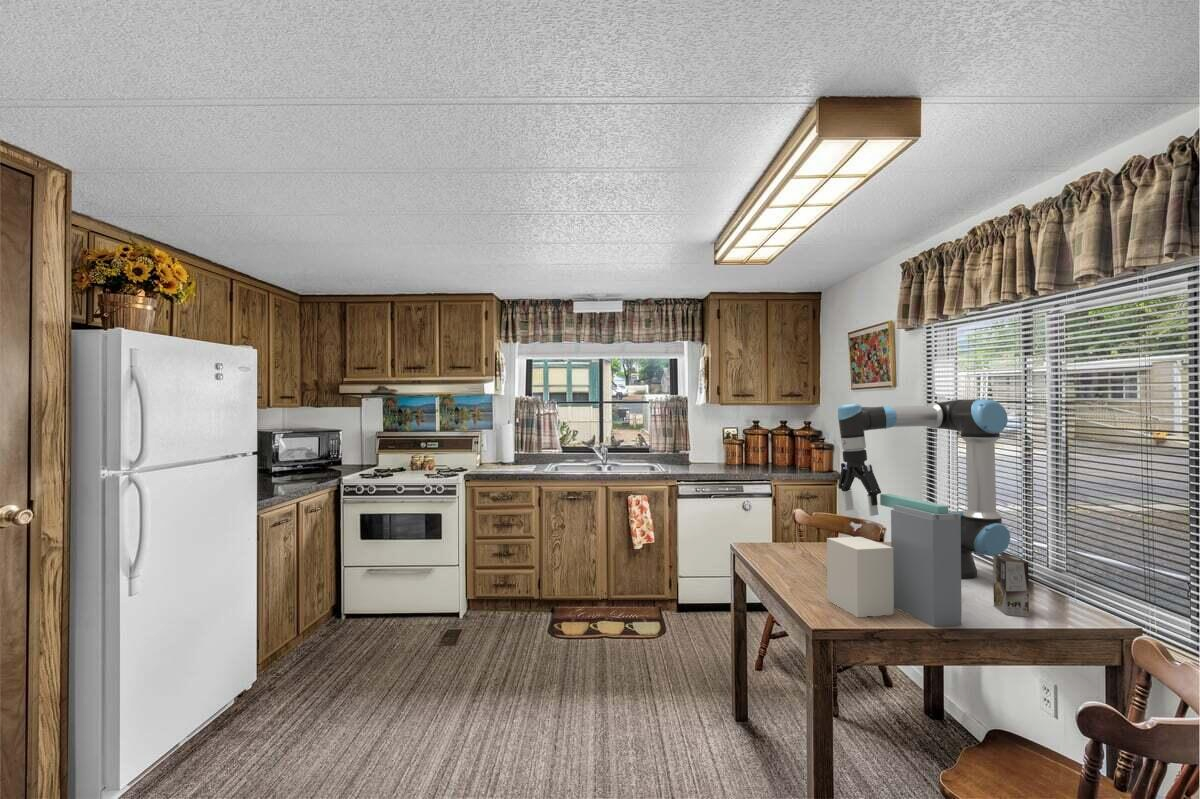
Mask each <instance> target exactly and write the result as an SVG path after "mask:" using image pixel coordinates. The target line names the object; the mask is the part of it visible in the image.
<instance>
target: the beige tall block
mask: <svg viewBox="0 0 1200 799" xmlns="http://www.w3.org/2000/svg"><path fill="white" fill-rule="evenodd" d="M826 568H827V569H826V577H827V579H826V581H827V583H826V584H827V585H826V589H827V590H826V591H827V593H826V600H827V602H829V603H830V602H831V603H830V604H832V603H833V604H832V605H834V604H835V606H836V605H837V606H836V607H837V608H839V607H840V608H839V609H841V608H842V609H841V610H843V609H844V610H843V611H845V612H847V613H848V612H849V614H850V613H851V615H852V614H853V615H852V616H854V617H855V618H857V617H860V618H868V617H867V616H873V617H882V616H881V615H886V616H893V615H892V614H894V615H895V613H894V612H895V608H894V573H893V547H891V545H890V546H889V545H887V544H884V543H881V542H879V541H878V542H877V541H876V540H875V541H874V540H872V539H869V538H866V537H863V536H845V537H843V536H842V537H827V538H826Z"/></svg>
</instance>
